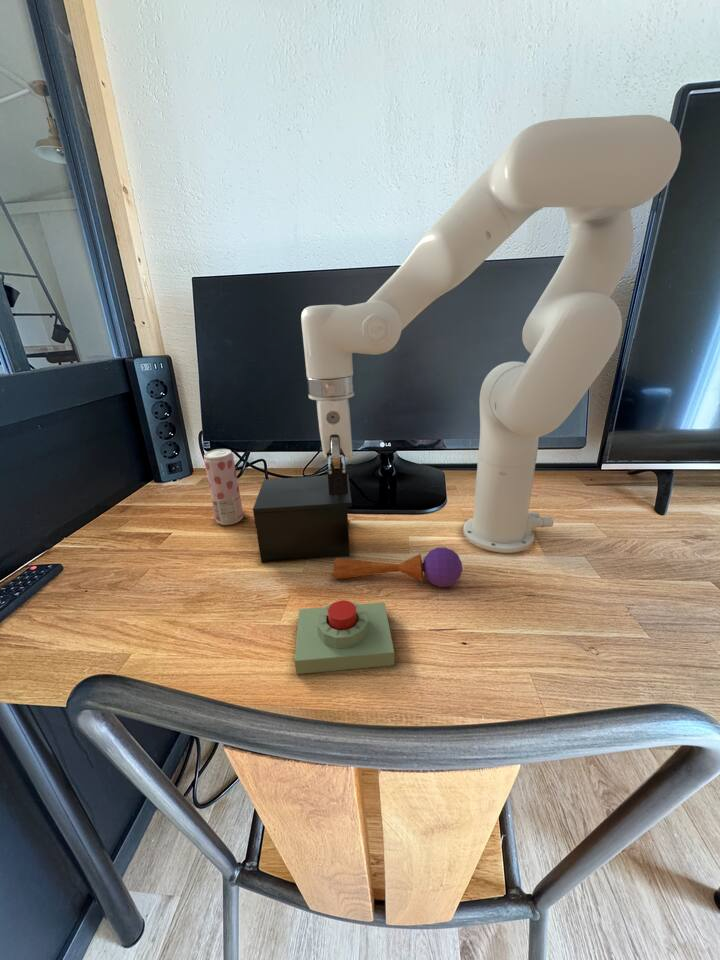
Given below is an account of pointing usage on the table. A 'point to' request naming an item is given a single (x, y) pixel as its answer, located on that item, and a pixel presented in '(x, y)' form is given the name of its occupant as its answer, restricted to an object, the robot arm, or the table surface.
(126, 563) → the table surface
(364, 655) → the control block
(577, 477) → the table surface
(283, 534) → the black box
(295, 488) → the lid
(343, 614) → the button
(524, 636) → the table surface
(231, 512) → the beverage can
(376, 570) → the kendama
